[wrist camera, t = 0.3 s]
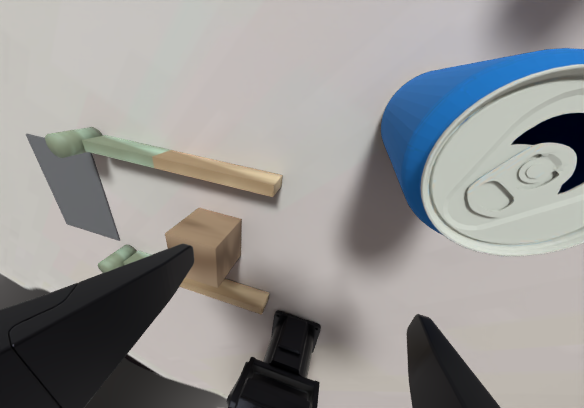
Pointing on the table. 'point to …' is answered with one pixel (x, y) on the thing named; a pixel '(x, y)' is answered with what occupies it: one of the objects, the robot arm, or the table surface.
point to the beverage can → (495, 151)
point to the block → (209, 244)
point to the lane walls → (183, 165)
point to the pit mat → (76, 189)
